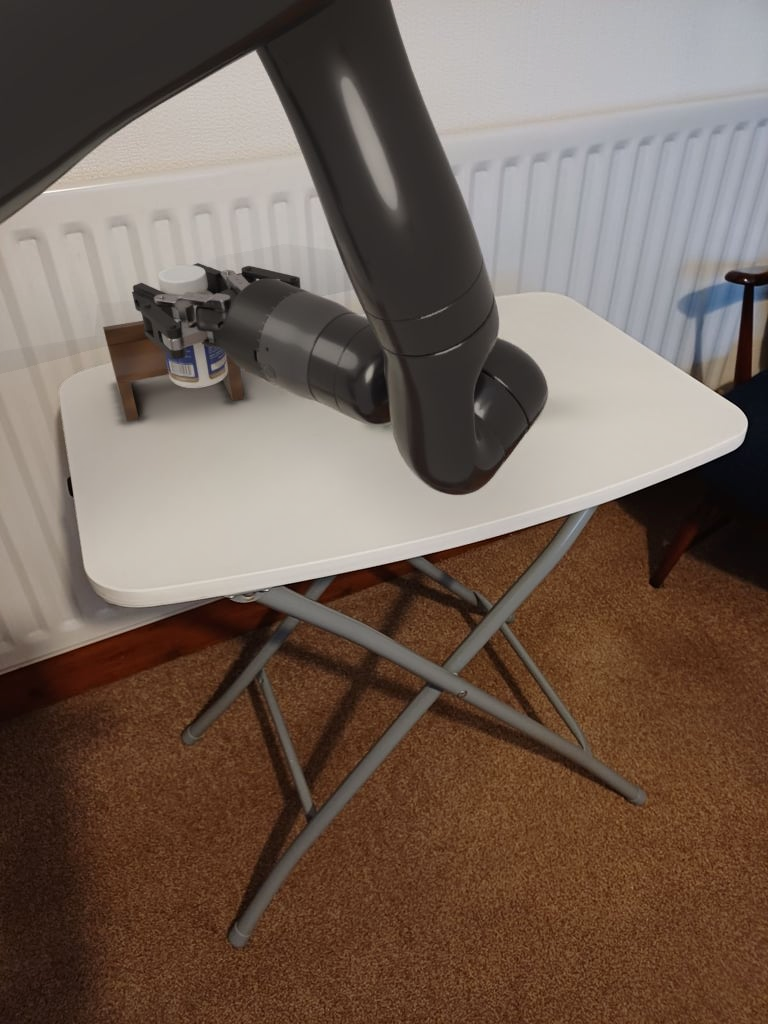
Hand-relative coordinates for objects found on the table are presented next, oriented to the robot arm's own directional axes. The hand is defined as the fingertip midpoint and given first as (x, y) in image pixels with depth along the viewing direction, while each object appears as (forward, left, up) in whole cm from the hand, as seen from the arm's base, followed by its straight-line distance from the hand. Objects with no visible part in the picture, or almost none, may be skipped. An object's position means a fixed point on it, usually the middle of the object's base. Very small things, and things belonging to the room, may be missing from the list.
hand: (167, 285), depth 69 cm
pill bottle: (-1, -2, -8) cm, 9 cm away
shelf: (+15, +13, -22) cm, 29 cm away
